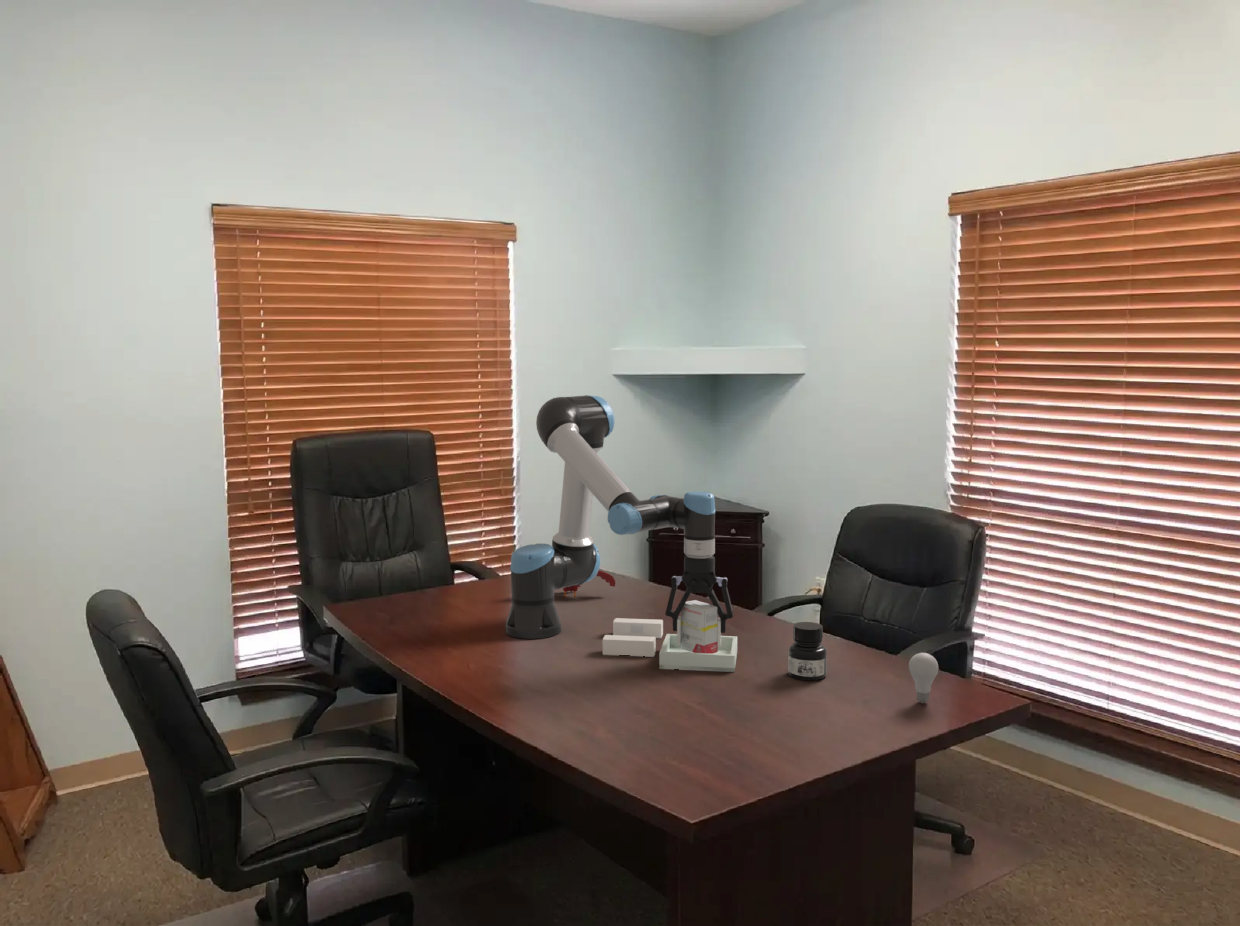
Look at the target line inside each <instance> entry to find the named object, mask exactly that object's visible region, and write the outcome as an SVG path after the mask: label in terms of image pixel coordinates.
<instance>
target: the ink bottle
mask: <svg viewBox="0 0 1240 926" xmlns="http://www.w3.org/2000/svg"><path fill="white" fill-rule="evenodd" d="M823 630H824V627H823V625H822V624H821V623H818V622H814V621H800V622H795V623H793V626H792V639H793V643H792V644H790V645H789V647H788V661H787V662H788V663H787V666H788V667H787V669H788V675H789V676H790V677H791V678H793V679H796V680H800V679H802V680H801V681H809V680H814V681H820V680H822V679H824V677H825V678H826V676H827V674H828V673H827V670H828V669H827V668H828V667H827V664H828V660H827V659H828V651H827V650H828V649H827V647H826V646H825V645H823V643H822V642H823V637H824V636H823V635H824V634H823V632H824V631H823ZM819 679H820V680H819Z"/></svg>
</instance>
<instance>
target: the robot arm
mask: <svg viewBox="0 0 1240 926" xmlns="http://www.w3.org/2000/svg"><path fill="white" fill-rule="evenodd" d="M614 414H615V413H614V412H613V409H612V407H611V406H610V403H609V402H608V401H607V400H606V399H604V398H603V397H601V396H599V395H598V396H597V395H588V394H587V395H586V394H585V395H576V396H573V395H572V396H557V397H553V398H551V399H549V400H547V401H546V402H544V403H543V405H541V406H540V408H539V410H538V412H537V415H536V430H537V434H538V436H539V438H540V440H541V442H542V443H543V444H544V446H545V447H546V448H547V449H548V451H550V452H552V453H554V454H558V456H559V457H560V458H561V459H562V460H563V461H564V465H563V466H564V468H563V469H564V470H563V480H562V491H561V503H560V513H559V524H558V531H557V533H555V534H554V535H553V536H552V541H551V542H552V543H551V544H548V543H535V544H527V545H524V546H519V547H518V548H516V549H515V550H514V551H513V552H512V554H511V558H510V565H509V567H510V568H509V569H510V577H511V578H510V581H511V582H510V583H511V589H510V590H511V591H510V592H511V605H510V609H509V613H508V616H507V619H506V622H505V634H506V635H507V636H509V637H512V638H516V639H527V640H530V639H531V640H534V639H535V640H536V639H545V638H549V637H554V636H556V635H558V634H560V632H562V621H561V619H560V618H561V617H560V615H559V612H558V610H557V606H556V604H555V590H560V589H563V588H565V587H570V586H574V585H580V586H582V585H583V584H585V583H588V582H590V581H592V580H593V579H594V578H596V577H597V576H596V575H597V573H598V571H599V570H600V568H601V555H600V553H598V552H599V548H598V547H597V546H596V544H594V543H595V541H594V538H593V537H591V535H590V527H591V518H592V517H591V516H592V510H593V509H592V507H593V498H594V497H595V498H596V500H598V502H599V503H600V504H601V505H602V506H603V507H604V509H605V510H606V511H607V512H608V513H607V523H608V524H609V528H610V530H611V531H612V532H613V533H614V534H617V535H619V536H620V535H621V536H622V535H623V536H624V535H635V534H637V533H643V532H647V531H653V530H660V529H665V528H676V529H680V530H683V554H684V557H683V574H682V575H678V576H677V575H673V576H672V577H671V579H670V581H671V589H670V593H669V598H668V601H667V606H666V609H665V616H666V617H670V618H671V619H672V630H673V632H676V634H677V645H681V616H679V615H681V610H682V608H683V606H684V604H685V602H687V601H688V599H689V598H690V596H691V593H692V594H698V593H699V594H706V595H707V597H708V598H709V599H710V600H709V601H711V603H712V604H711V605H714V606H716V607H717V613H718V637H717V647H721V636H722V634H725V633H726V630H727V620H728V619H732V618H733V617H734V610H733V606H732V602H731V597H730V594H729V590H728V577H726V576H724V577H720V576H717V575H716V569H715V568H716V567H715V566H716V565H715V564H716V558H715V556H714V554H716V539H715V538H716V537H715V536H716V535H715V533H716V532H715V531H716V530H715V529H716V528H715V527H716V526H715V524H716V510H717V509H716V502H715V501H716V500H715V496H714V494H713V493H711V492H709V491H698V490H695V491H688V492H685V494H684V496H683V497H677V496H672V495H671V496H670V495H667V494H663V495H661V494H660V495H659V494H654V495H652V496H651V497H650V498H648V499H644V500H639V499H638V498H637V496H636V495H635V494H634V493H633V492H632V491H631V490H630V488H628V487H627V485H626V484H625V483H624V482H623V481H622V480H621V479H620V478H619V476H618V475H617V474H616V473H615V472H614V471H613V470H612V469H611V467H610V466H609V465H608V464H607V463H606V462H605V461H604V460H603V459H602V457H601V456H600V455H599V454H598V452H599V451H600V450H601V449H603V448H604V443H605V442H604V441H605V438H607V437H609V436H610V435H611V434H612V432H613V430H614V428H615V415H614ZM593 496H594V497H593ZM681 582H683V584H684V585H685V586H686V589H685V592H684V593H683V595H682V597H681V599H680V601H679V603H678V604H677V606H676V607H675V610H673V606H674V601H675V598H676V594H677V589H678V586H680V584H681ZM716 583H717V584H718V587H721V588H720V589H721V594H722V597H723V602H724V606H725V610H726V612H725V611H724V609H723V606H722V605H721V603H720V601H719V599H718V597H717V596H716V593H715V590H714V589H713V586H714V585H715V584H716ZM581 584H582V585H581Z"/></svg>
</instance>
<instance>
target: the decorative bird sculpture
mask: <svg viewBox="0 0 1240 926" xmlns="http://www.w3.org/2000/svg"><path fill="white" fill-rule="evenodd" d="M595 577H597V578H598V577H600V578H601V579H602V580H605V583H608V584H609V586H610V587H613V588H615V587H616V579H615V578H614V576H612V575H611V574H609V573H608V572H605V571H603V570H600V569H599V571H598V573H597V575H596V576H595ZM582 585H583V584H581V585H574V586H570V587H565V588H562V590H563V592H564V595H563V597H564V598H567V597H569V596H568V595H567V592H570V593H572V592H573V597H574V598H576V597H577V595H576V593H577V591H578V589H579V588H581V586H582Z"/></svg>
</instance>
